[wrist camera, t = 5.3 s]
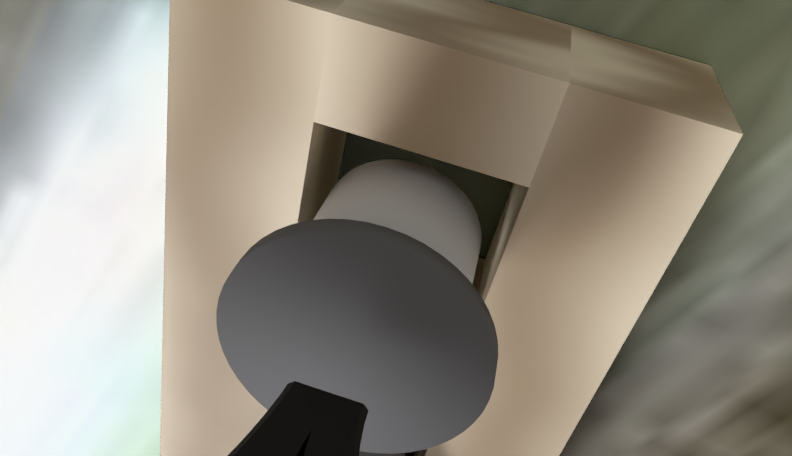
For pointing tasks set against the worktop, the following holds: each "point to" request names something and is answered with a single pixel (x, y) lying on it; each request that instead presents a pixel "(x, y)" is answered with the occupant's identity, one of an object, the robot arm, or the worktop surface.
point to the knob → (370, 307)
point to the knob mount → (446, 141)
